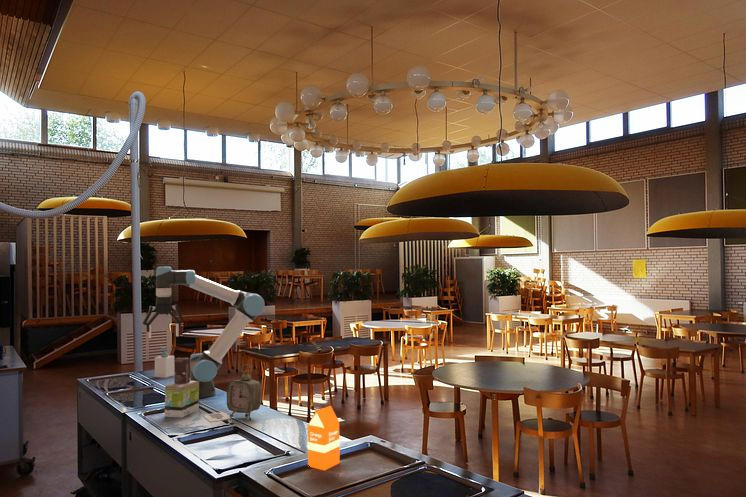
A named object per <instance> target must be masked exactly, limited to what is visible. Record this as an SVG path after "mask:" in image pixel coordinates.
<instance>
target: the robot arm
mask: <svg viewBox="0 0 746 497" xmlns="http://www.w3.org/2000/svg"><path fill="white" fill-rule="evenodd" d="M155 271H156V272H155V296H156V297H155V306H152V305H150V306H149V309H148V312H147V314H146V315H145V318H144V319H143V321H142V324H143V325H144V326H146V328H145V330H146V332H147V333H148V339H149V340H150V339H152V325H151V324H152V323H153V322H154V320H155V319H156V318H157V317H158V316H159V315H170V316H171V318H172V319H173V320H174V321H175V322H176V323H175V336H176V337H179V336H180V335H179V331H180V330H181V329H182V328H181V326H182V323H184V322H185V319H184V318H183V316H182V314H181V312H180V310H179V306H178V304H174V305H172V286H173V285H180V286H181V285H182V286H186V287H189V288H191V289H193V290H196V291H199V292H201V293H203V294H206V295H209V296H211V297H214V298H217V299H219V300H222V301H225V302H227V303H230V305H231V306H232V307H235V314H234V315H233V317H232V318H231V319H230V321H229V322H228V323H227V325H226V326H225V328H224V329H223V330H222V331H221V333H220V334H219V336H218V337H217V338H216V339H215V341H214V342H213V343H212V344H211V346H210V347H209V349H208V350H204V351H203V352H202V353H201V352H200V353H192V354H190V357H189V358H190V381H199V399H203V398H209V397H213V396H215V395H216V393H217V392H216V387H215V385H214V381H213V379H214V378H215V377H216V375H217V373H218V370H219V368H220V367H221V366H222V364H223V359H224V357H225V356H226V354H227V353H228V351H229V350H230V348H231V347H232V346H233V345H234V344H235V342H236V341H237V339H238V338H239V337H240V335H241V334H242V333H243V330H245V328H246V327H247V326H248V325H249V324H250V323H252V322H254V321H255V320H256V318H257V317H258V316H259V315H261V314H262V313H263V312H264V309H265V308H266V307H265V300H264V298H263V297H262V296H261V295H259V294H258V293H252V292H247V291H243V290H240V289H238V290H235V289H232V288H230V287H227V286H225V285H222V284H219V283H217V282H215V281H212V280H210V279H207V278H204V277H202V276H199V275H197V274H196V271H195V270H194V269H186V270H185V269H180V270H178V269H177V270H173V269H172V267H171V266H158V267H157V268H156V270H155ZM172 309H173V310H175V313H176V314H177V316H176V315H175V314H174V313H173V312H172ZM153 311H155V312H154V314H153V315H152V313H153ZM151 315H152V317H151ZM150 317H151V318H150Z"/></svg>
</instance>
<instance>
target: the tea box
mask: <svg viewBox="0 0 746 497" xmlns="http://www.w3.org/2000/svg"><path fill="white" fill-rule="evenodd" d="M164 391H165V392H164V417H165V418H179V419H180V418H181V419H182V418H185V417H186V416H189V415H190V414H193V413H194V412H197V411H198V410H199V407H200V406H199V405H200V401H199V399H200V398H199V381H190V382H189V383H186V384H181V383H175V382H174V383H171V384H167V385H165V386H164Z"/></svg>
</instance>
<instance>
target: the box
mask: <svg viewBox="0 0 746 497" xmlns="http://www.w3.org/2000/svg"><path fill="white" fill-rule="evenodd" d="M190 358H191V357H176V358H174V383H181V384H186V383H189V382H190Z"/></svg>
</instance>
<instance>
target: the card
mask: <svg viewBox="0 0 746 497" xmlns="http://www.w3.org/2000/svg"><path fill="white" fill-rule="evenodd" d="M202 417H203V418H205V419H206V420H207V421H208V422H209V423H215V422H221V421H228V420H232V419H231V417H230V415H228V413H226V412H224V411H220V412H214V413H208V414H203V415H202ZM227 419H228V420H227Z"/></svg>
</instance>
